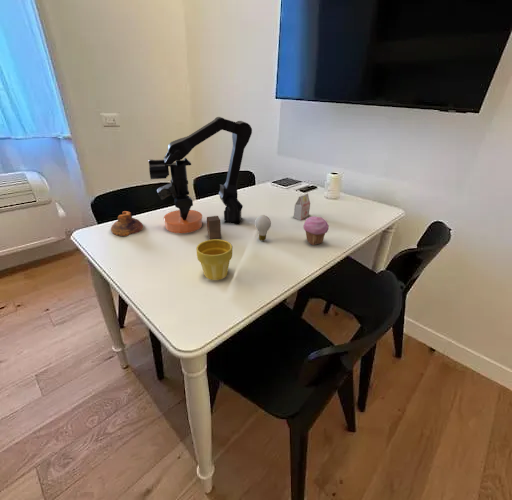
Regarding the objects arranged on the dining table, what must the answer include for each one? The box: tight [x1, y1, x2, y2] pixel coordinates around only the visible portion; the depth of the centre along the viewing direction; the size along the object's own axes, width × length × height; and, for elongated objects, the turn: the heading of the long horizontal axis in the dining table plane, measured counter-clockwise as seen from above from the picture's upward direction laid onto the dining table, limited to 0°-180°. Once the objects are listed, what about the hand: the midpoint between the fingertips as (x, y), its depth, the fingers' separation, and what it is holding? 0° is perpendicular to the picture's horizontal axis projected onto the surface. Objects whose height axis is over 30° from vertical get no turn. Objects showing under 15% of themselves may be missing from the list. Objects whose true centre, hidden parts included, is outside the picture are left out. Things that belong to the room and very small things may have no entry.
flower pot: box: [195, 239, 233, 281], centre depth 90 cm, size 10×10×10 cm
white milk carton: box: [293, 193, 311, 221], centre depth 132 cm, size 4×7×10 cm, turn 139°
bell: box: [110, 210, 144, 237], centre depth 117 cm, size 12×12×7 cm
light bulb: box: [254, 214, 272, 242], centre depth 110 cm, size 6×6×10 cm
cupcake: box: [302, 215, 330, 246], centre depth 110 cm, size 9×9×10 cm
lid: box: [163, 208, 203, 225], centre depth 119 cm, size 15×15×6 cm
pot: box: [164, 218, 203, 234], centre depth 121 cm, size 14×14×4 cm
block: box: [206, 215, 222, 240], centre depth 112 cm, size 4×4×8 cm
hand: (183, 216), depth 120 cm, fingers open, 7 cm apart
